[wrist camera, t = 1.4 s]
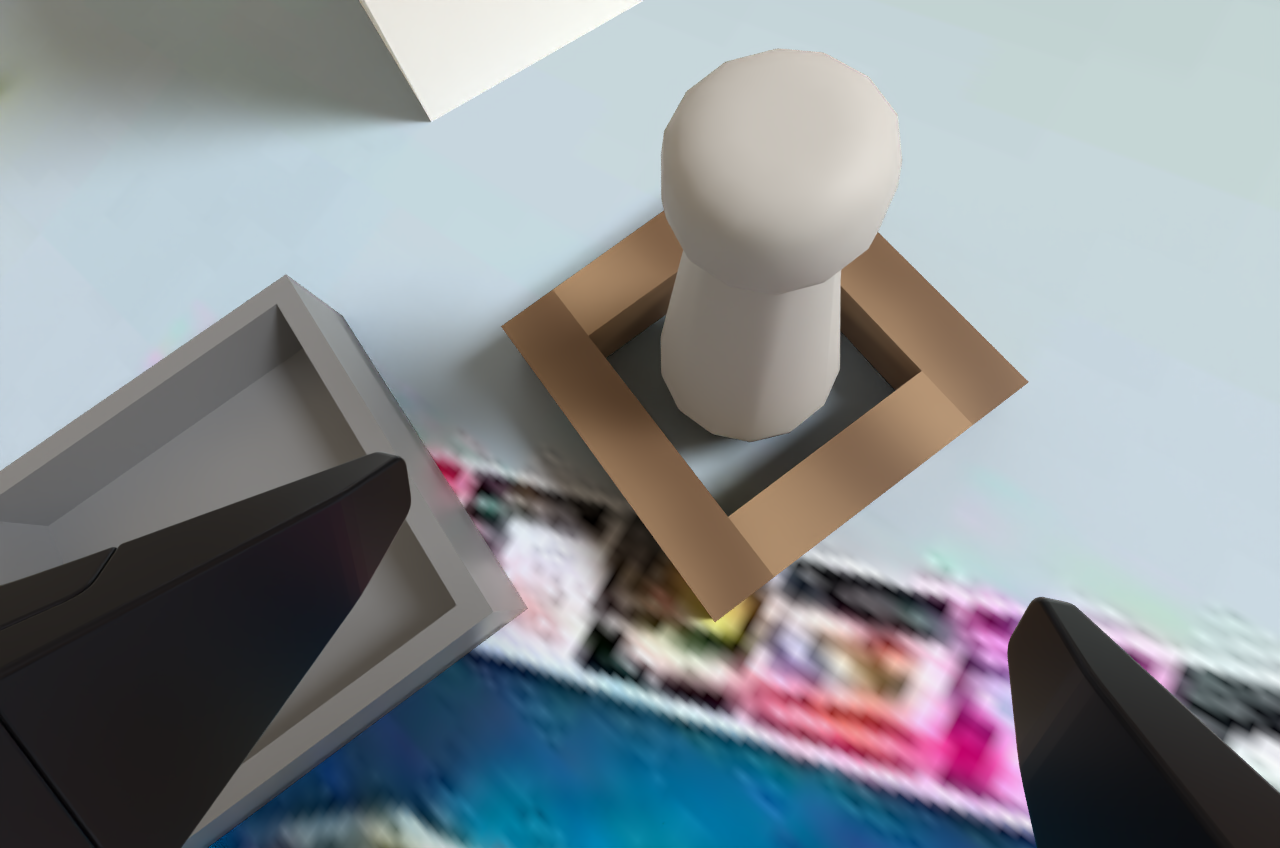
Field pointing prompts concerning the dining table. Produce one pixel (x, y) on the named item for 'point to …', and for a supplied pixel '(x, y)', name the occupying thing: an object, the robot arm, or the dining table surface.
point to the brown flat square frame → (819, 485)
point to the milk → (478, 40)
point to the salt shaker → (769, 233)
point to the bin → (252, 464)
